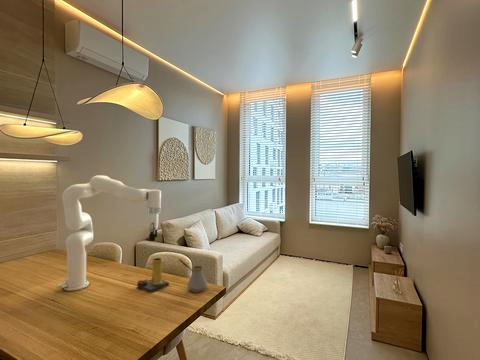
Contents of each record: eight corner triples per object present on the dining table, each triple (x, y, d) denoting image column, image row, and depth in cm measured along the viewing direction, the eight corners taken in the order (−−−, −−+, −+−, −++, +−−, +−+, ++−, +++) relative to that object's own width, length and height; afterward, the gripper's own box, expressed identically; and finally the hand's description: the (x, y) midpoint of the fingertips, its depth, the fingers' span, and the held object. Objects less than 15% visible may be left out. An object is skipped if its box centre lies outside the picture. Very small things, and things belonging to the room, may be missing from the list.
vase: (152, 281, 158) (153, 257, 158) (163, 280, 159) (163, 257, 159) (150, 285, 152) (150, 260, 152) (161, 285, 153) (161, 260, 153)
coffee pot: (211, 288, 154) (211, 263, 154) (197, 295, 144) (198, 268, 144) (185, 280, 165) (185, 256, 165) (171, 286, 156) (171, 261, 156)
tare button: (142, 283, 152) (142, 280, 152) (139, 282, 153) (139, 279, 153) (145, 281, 154) (145, 279, 154) (143, 280, 155) (143, 278, 155)
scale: (149, 293, 146) (149, 287, 146) (135, 287, 153) (135, 281, 153) (168, 285, 157) (168, 279, 157) (154, 280, 164) (154, 274, 164)
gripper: (149, 208, 164) (148, 235, 164) (145, 212, 147) (144, 242, 147) (162, 208, 165) (161, 235, 165) (159, 212, 148) (158, 242, 148)
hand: (153, 239), depth 156 cm, fingers open, 9 cm apart
